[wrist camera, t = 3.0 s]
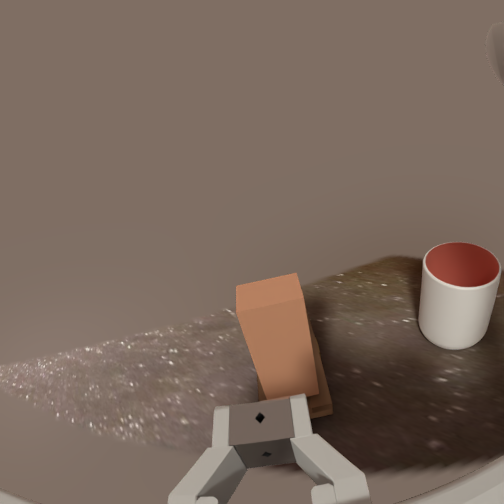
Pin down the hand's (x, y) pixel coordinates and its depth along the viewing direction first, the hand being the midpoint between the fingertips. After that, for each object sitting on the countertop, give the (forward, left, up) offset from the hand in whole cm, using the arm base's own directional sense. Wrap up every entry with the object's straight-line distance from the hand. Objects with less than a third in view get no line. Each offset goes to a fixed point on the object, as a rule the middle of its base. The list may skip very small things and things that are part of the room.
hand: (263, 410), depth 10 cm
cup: (-22, -20, -22) cm, 37 cm away
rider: (0, -14, -18) cm, 23 cm away
